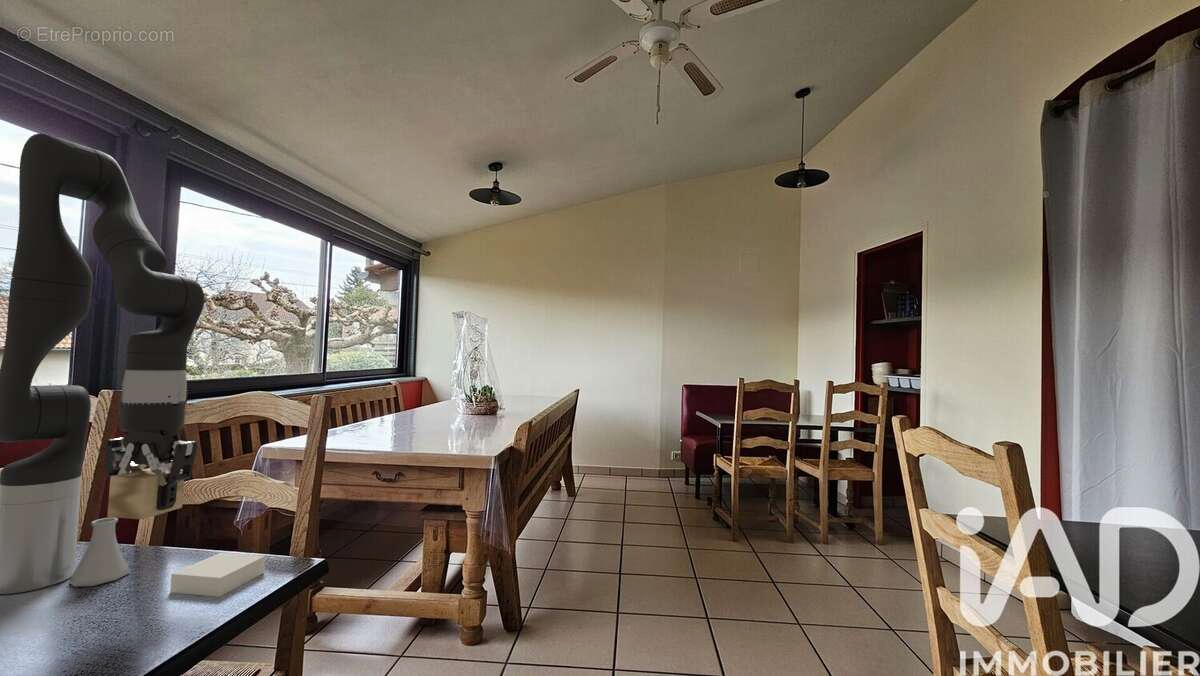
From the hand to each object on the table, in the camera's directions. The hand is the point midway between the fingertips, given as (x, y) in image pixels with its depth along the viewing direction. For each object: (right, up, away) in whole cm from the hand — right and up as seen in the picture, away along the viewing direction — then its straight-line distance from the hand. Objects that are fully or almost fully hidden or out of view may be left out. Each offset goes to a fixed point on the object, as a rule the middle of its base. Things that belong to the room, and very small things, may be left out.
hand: (146, 507), depth 75 cm
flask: (-16, -16, +9) cm, 24 cm away
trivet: (+5, -16, +8) cm, 19 cm away
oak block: (0, -1, 0) cm, 1 cm away
